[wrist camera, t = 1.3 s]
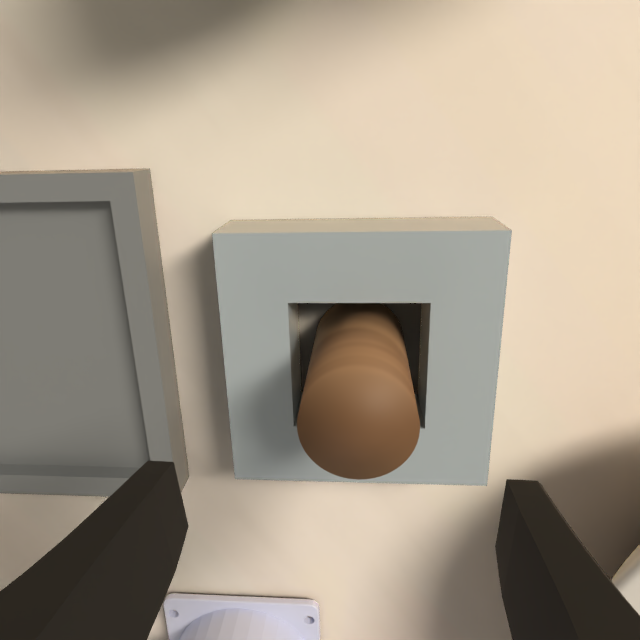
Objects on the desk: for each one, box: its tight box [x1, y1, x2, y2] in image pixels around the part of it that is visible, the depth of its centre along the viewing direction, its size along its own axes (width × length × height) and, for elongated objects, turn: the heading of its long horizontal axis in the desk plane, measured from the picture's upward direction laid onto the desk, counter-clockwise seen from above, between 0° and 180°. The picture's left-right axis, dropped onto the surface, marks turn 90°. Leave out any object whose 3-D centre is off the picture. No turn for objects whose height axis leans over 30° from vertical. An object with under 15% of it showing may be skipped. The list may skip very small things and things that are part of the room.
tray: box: [0, 169, 189, 496], centre depth 23 cm, size 14×14×2 cm
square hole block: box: [212, 217, 512, 486], centre depth 21 cm, size 10×10×3 cm
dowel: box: [297, 303, 420, 480], centre depth 19 cm, size 4×4×7 cm
